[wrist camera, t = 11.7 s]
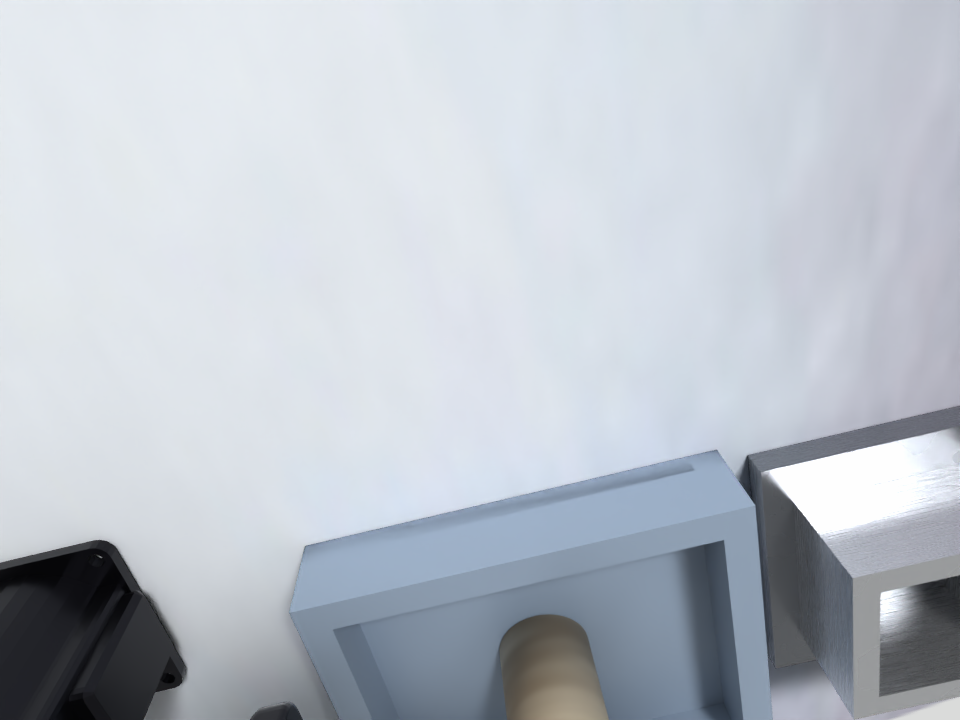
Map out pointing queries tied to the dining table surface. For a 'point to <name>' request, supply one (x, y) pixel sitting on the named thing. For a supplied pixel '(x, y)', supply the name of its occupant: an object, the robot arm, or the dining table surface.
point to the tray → (550, 599)
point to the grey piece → (865, 559)
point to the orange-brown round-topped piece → (550, 671)
